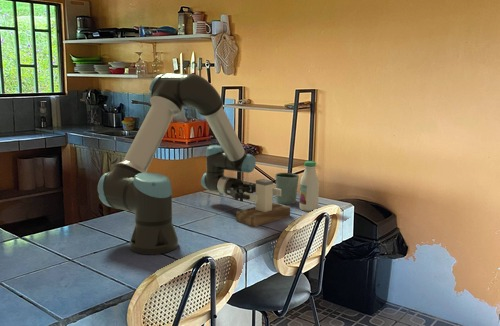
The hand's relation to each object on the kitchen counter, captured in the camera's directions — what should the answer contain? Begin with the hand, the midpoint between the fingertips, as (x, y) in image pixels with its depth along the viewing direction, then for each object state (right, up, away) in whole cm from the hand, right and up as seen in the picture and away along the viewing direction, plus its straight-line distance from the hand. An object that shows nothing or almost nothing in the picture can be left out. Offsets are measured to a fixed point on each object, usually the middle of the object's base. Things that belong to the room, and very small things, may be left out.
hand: (269, 195), depth 186 cm
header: (-2, -9, +3) cm, 10 cm away
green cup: (+9, -5, +28) cm, 30 cm away
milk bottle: (+17, -7, +17) cm, 25 cm away
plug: (-2, -9, +3) cm, 10 cm away
